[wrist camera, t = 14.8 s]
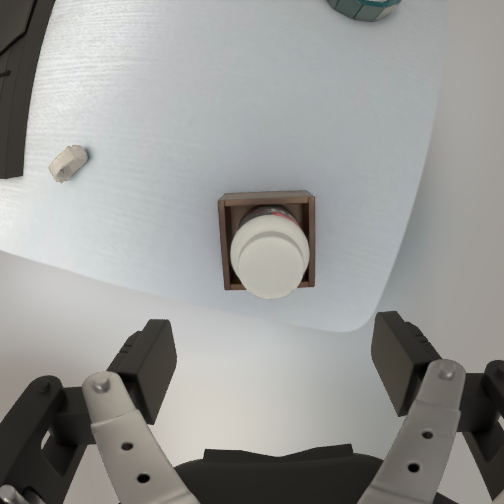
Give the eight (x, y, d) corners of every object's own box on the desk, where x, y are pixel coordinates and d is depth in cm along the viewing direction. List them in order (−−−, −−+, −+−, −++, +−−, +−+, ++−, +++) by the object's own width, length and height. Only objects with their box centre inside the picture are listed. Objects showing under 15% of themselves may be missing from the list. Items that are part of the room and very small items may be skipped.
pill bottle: (297, 199, 27) (315, 221, 18) (300, 258, 29) (317, 307, 19) (234, 203, 27) (220, 228, 18) (240, 262, 29) (230, 313, 20)
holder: (306, 190, 27) (314, 196, 23) (307, 268, 29) (314, 287, 25) (224, 193, 28) (217, 200, 23) (229, 271, 30) (224, 290, 25)
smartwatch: (87, 141, 26) (64, 141, 23) (97, 158, 27) (75, 159, 23) (64, 164, 27) (40, 168, 23) (74, 181, 28) (51, 186, 24)
